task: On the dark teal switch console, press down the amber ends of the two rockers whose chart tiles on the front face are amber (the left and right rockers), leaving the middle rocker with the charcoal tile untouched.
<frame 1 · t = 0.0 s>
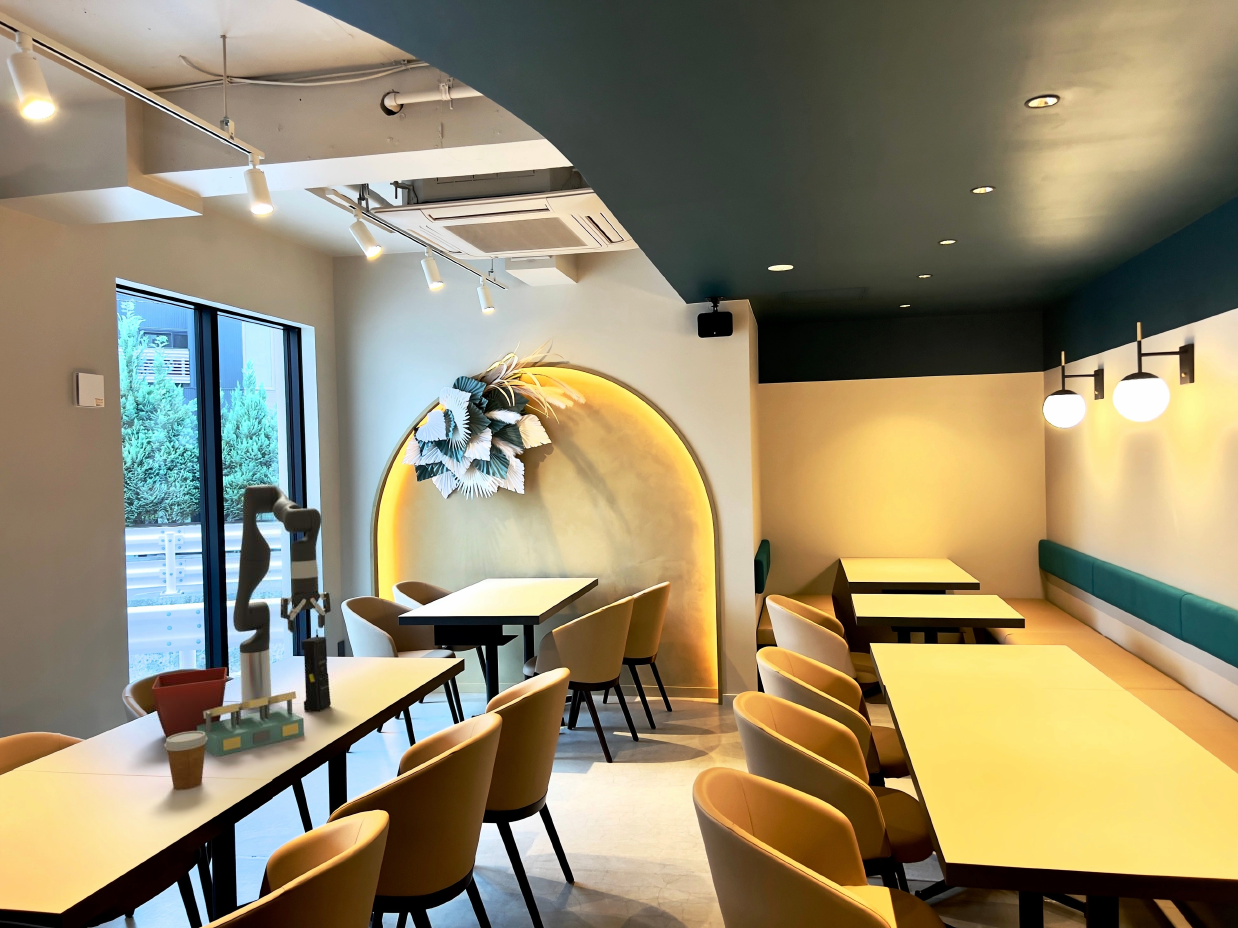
hand: (306, 629, 255), 29 cm above the table, tool pointing down, fingers open, 8 cm apart
rocker A: (220, 710, 241), point 10 cm above the table, hinge at -15.0°
plant pot: (193, 733, 254), on the table
rocker B: (249, 704, 246), point 10 cm above the table, hinge at -15.0°
console: (251, 738, 246), on the table
portable radio: (317, 709, 275), on the table
rocker C: (278, 698, 252), point 10 cm above the table, hinge at -15.0°
disposable coffee cup: (187, 785, 211), on the table
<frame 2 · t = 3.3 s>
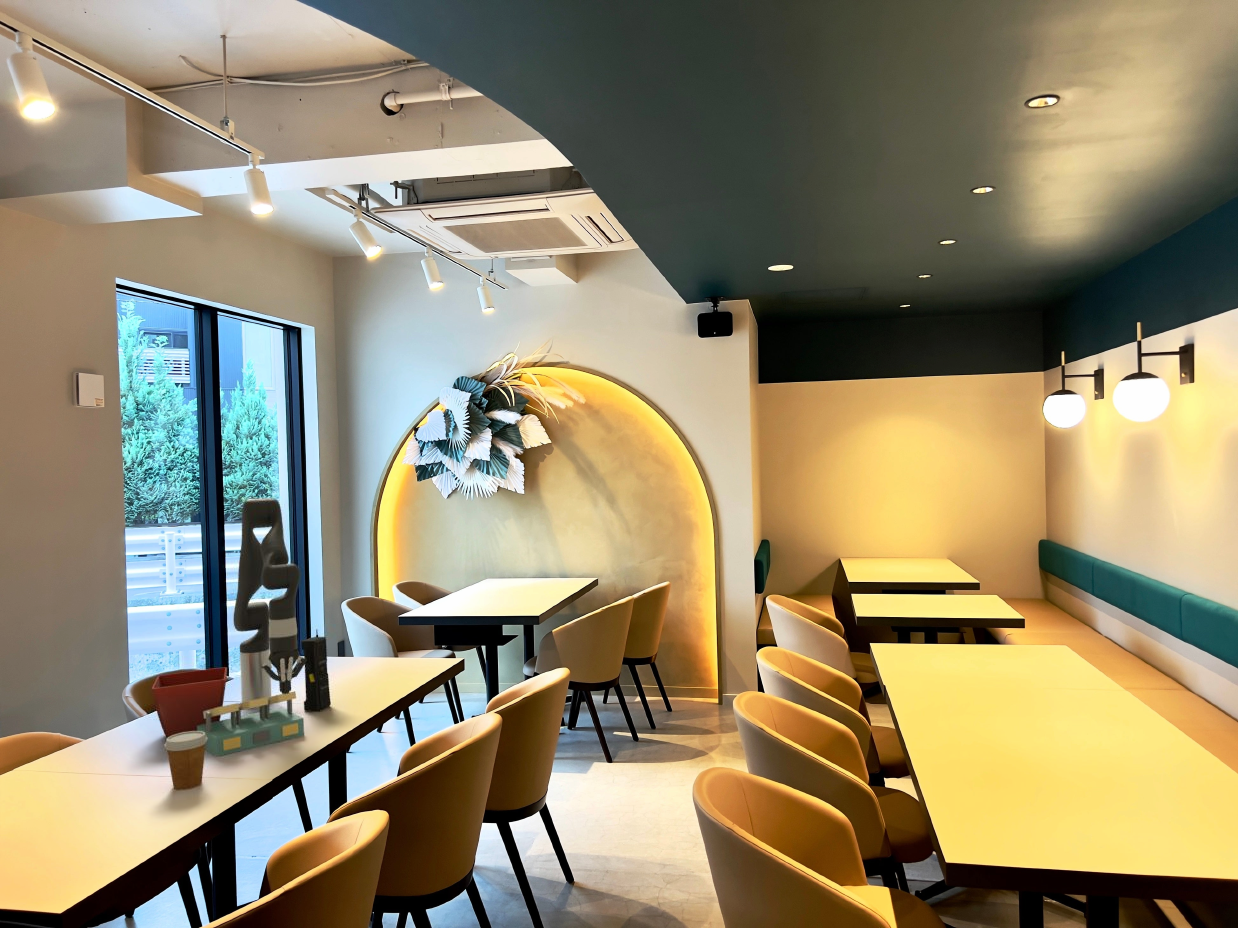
hand: (285, 693, 247), 13 cm above the table, tool pointing down, fingers closed
rocker C: (278, 698, 252), point 10 cm above the table, hinge at -15.0°, touching gripper
everything else where it was.
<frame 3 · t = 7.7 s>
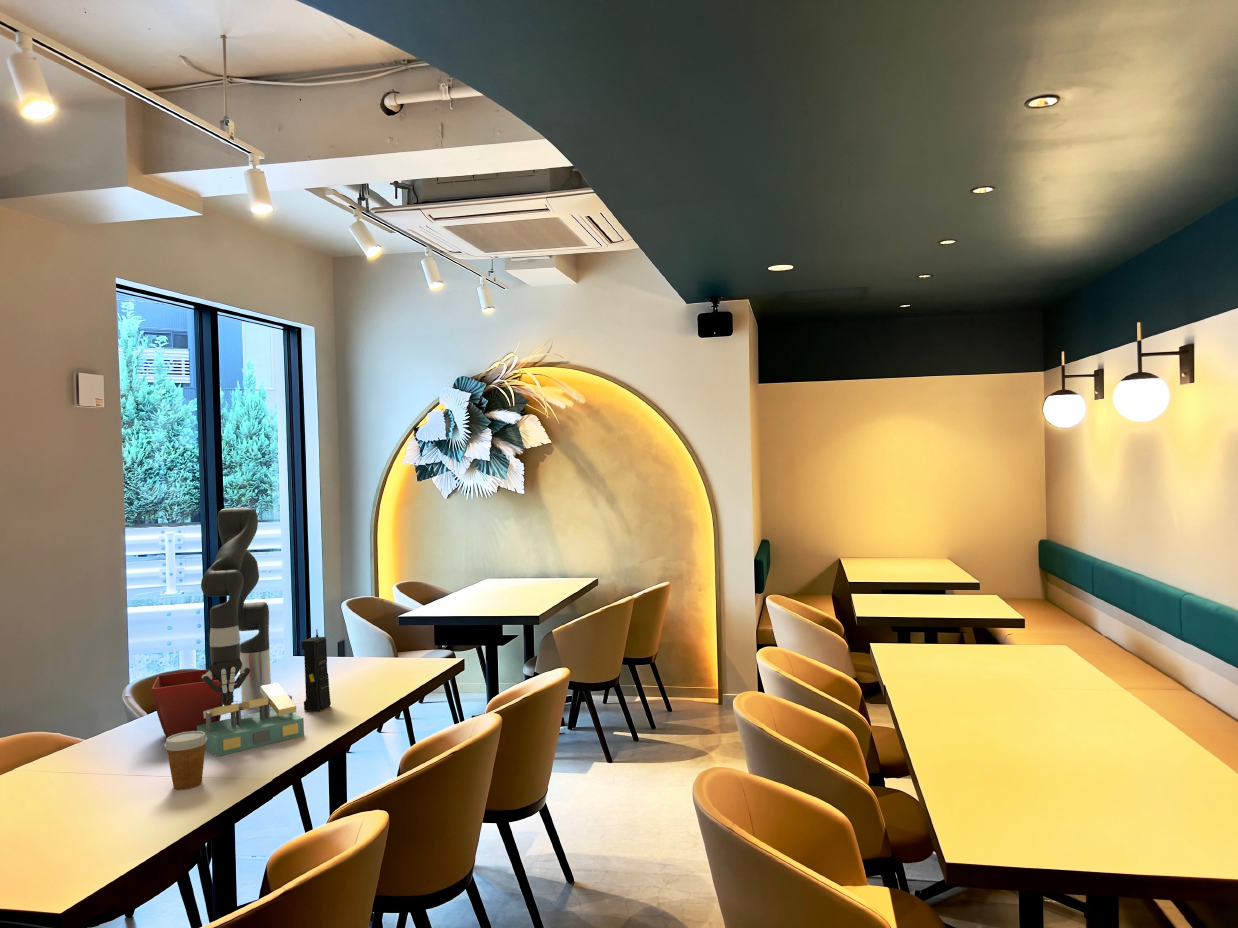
hand: (227, 705, 236), 13 cm above the table, tool pointing down, fingers closed
rocker A: (220, 710, 241), point 10 cm above the table, hinge at -15.0°, touching gripper
rocker C: (278, 698, 252), point 10 cm above the table, hinge at 17.2°
everything else where it was.
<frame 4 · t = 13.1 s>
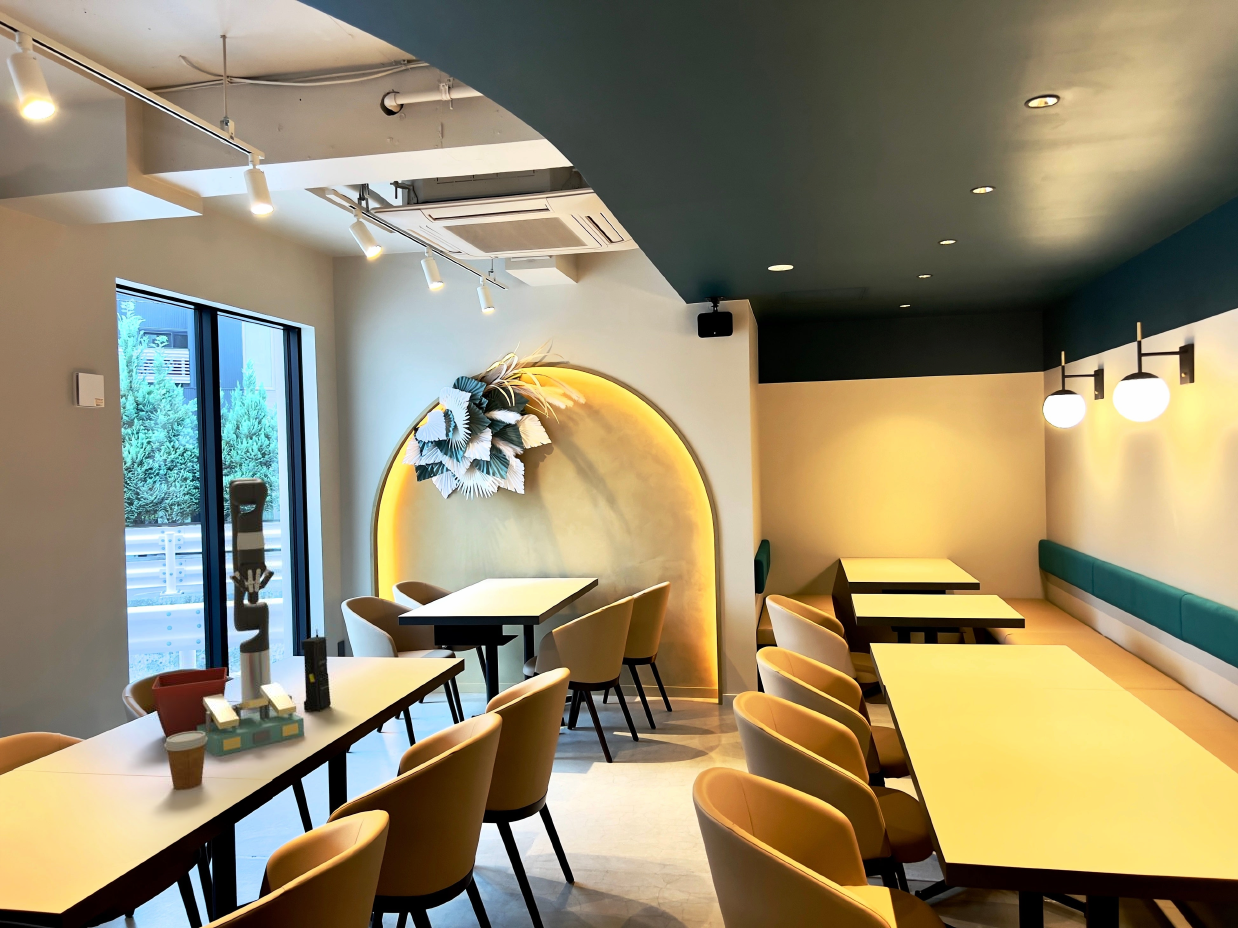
hand: (253, 603, 259), 37 cm above the table, tool pointing down, fingers closed
rocker A: (220, 710, 241), point 10 cm above the table, hinge at 17.1°
everything else where it was.
at the end: rocker A at +17° (first picture: -15°); rocker C at +17° (first picture: -15°); rocker B at -15° (first picture: -15°) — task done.
